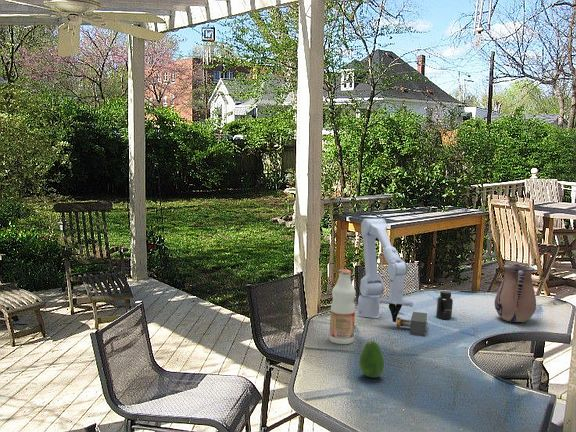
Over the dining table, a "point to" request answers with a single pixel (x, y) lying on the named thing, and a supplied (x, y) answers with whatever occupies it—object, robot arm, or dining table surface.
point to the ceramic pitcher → (516, 294)
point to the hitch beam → (418, 323)
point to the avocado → (371, 360)
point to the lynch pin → (405, 322)
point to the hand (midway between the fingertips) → (394, 321)
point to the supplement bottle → (444, 306)
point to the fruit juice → (342, 310)
